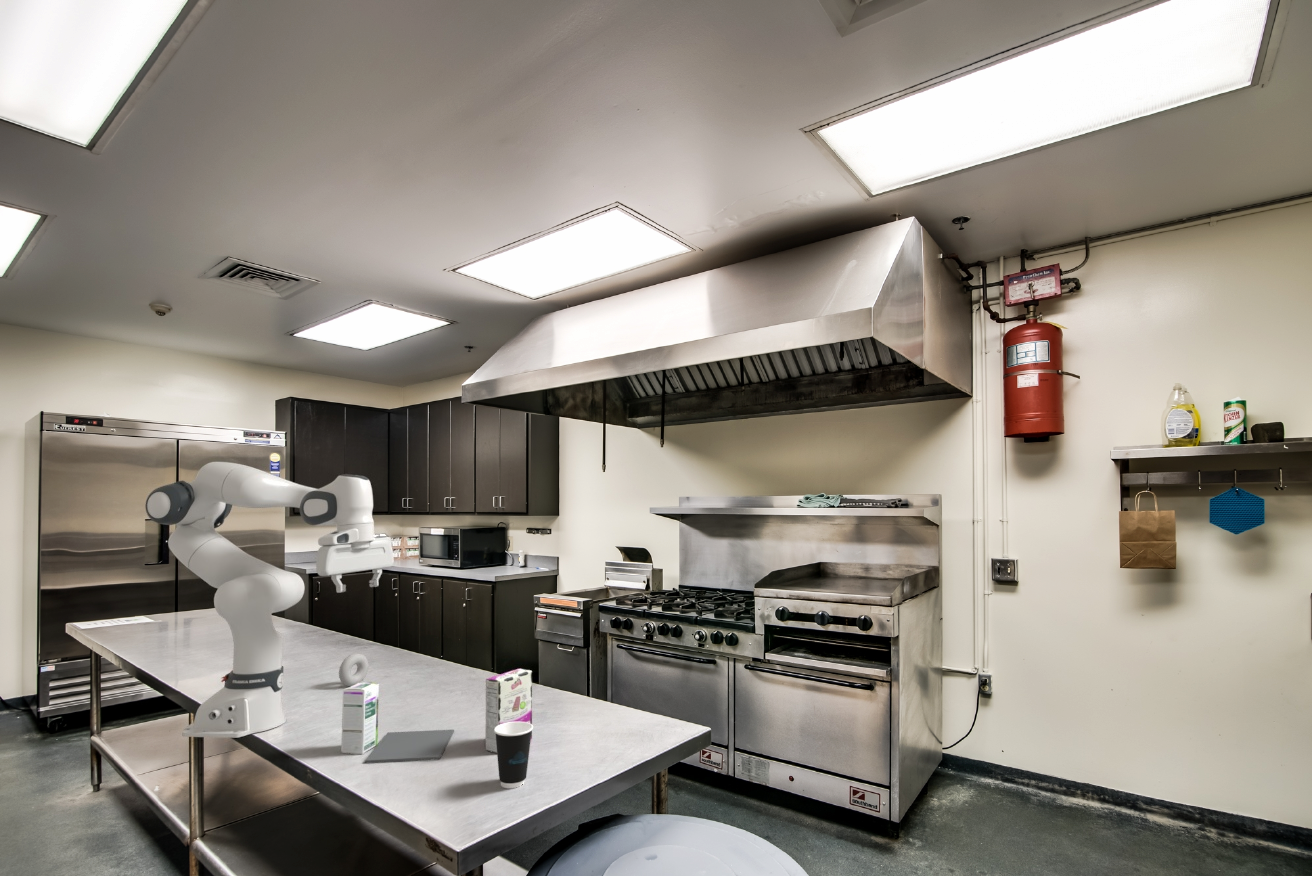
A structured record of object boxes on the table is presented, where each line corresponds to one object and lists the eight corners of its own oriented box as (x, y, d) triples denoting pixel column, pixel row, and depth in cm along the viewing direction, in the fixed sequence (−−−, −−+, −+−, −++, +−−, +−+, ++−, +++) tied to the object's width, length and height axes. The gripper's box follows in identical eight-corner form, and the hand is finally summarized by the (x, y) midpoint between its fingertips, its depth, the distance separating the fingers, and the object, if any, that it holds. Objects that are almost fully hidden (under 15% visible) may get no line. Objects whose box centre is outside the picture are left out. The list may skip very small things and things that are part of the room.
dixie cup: (518, 794, 128) (519, 736, 129) (484, 788, 131) (486, 731, 132) (539, 778, 135) (540, 723, 136) (507, 773, 138) (508, 719, 139)
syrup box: (362, 754, 148) (365, 689, 150) (339, 753, 150) (342, 688, 151) (377, 745, 154) (380, 682, 156) (355, 744, 155) (358, 681, 157)
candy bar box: (517, 736, 160) (518, 667, 162) (532, 739, 158) (533, 670, 159) (483, 750, 151) (484, 677, 153) (498, 755, 148) (500, 680, 150)
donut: (342, 690, 200) (344, 657, 201) (335, 689, 202) (337, 656, 203) (370, 682, 209) (371, 650, 210) (363, 681, 211) (364, 649, 212)
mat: (364, 763, 143) (364, 760, 144) (387, 735, 161) (387, 732, 161) (439, 759, 146) (439, 756, 146) (454, 731, 163) (454, 729, 163)
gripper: (382, 533, 180) (384, 583, 178) (311, 539, 162) (313, 595, 161) (397, 532, 177) (400, 583, 175) (326, 538, 159) (328, 595, 158)
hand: (358, 589), depth 168 cm, fingers open, 8 cm apart
